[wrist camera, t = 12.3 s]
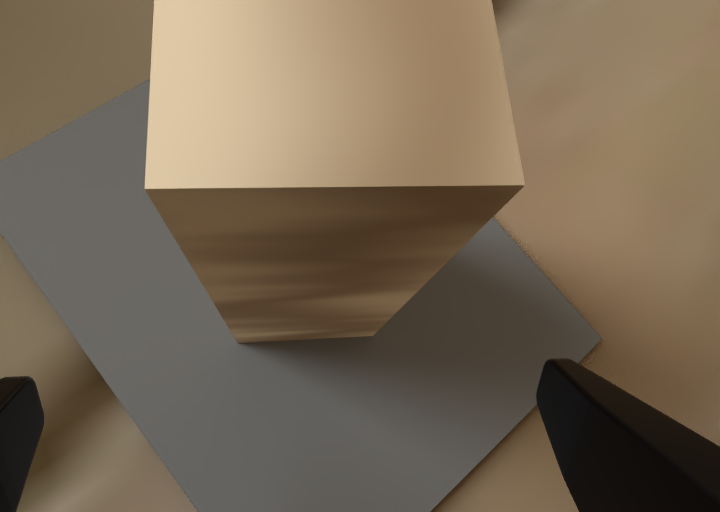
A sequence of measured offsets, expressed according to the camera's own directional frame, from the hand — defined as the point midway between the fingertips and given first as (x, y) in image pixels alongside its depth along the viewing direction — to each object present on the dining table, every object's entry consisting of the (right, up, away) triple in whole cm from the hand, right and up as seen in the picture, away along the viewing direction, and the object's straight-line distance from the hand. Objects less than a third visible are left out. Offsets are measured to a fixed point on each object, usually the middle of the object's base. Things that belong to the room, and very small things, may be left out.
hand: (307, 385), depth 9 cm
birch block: (-1, +2, +9) cm, 9 cm away
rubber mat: (-1, +2, +9) cm, 10 cm away
